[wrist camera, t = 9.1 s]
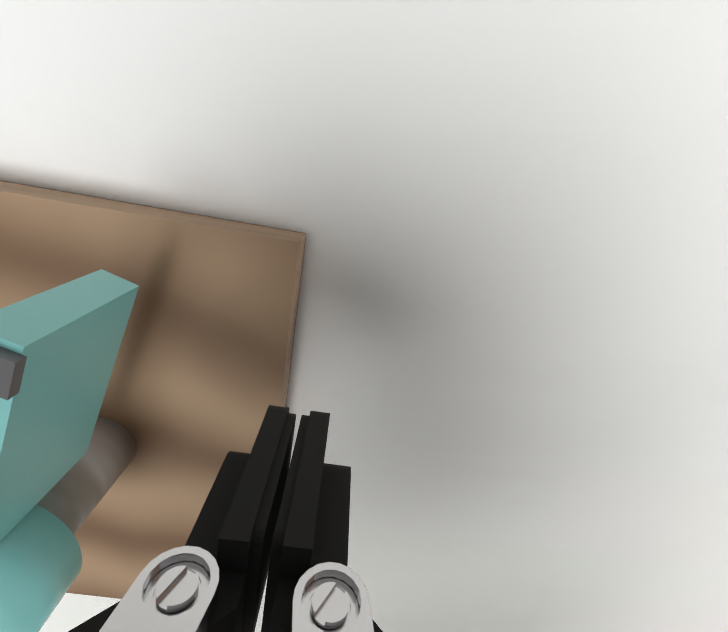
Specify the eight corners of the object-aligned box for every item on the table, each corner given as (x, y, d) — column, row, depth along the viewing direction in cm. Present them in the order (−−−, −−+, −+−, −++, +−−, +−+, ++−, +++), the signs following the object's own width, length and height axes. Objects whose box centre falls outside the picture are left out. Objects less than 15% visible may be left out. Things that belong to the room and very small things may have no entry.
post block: (265, 579, 25) (229, 729, 18) (1, 548, 24) (-139, 695, 17) (306, 233, 17) (268, 276, 10) (-87, 165, 16) (-406, 165, 9)
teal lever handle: (104, 553, 17) (8, 696, 12) (-19, 514, 16) (-169, 651, 11) (196, 311, 13) (105, 390, 8) (39, 241, 12) (-158, 287, 7)
